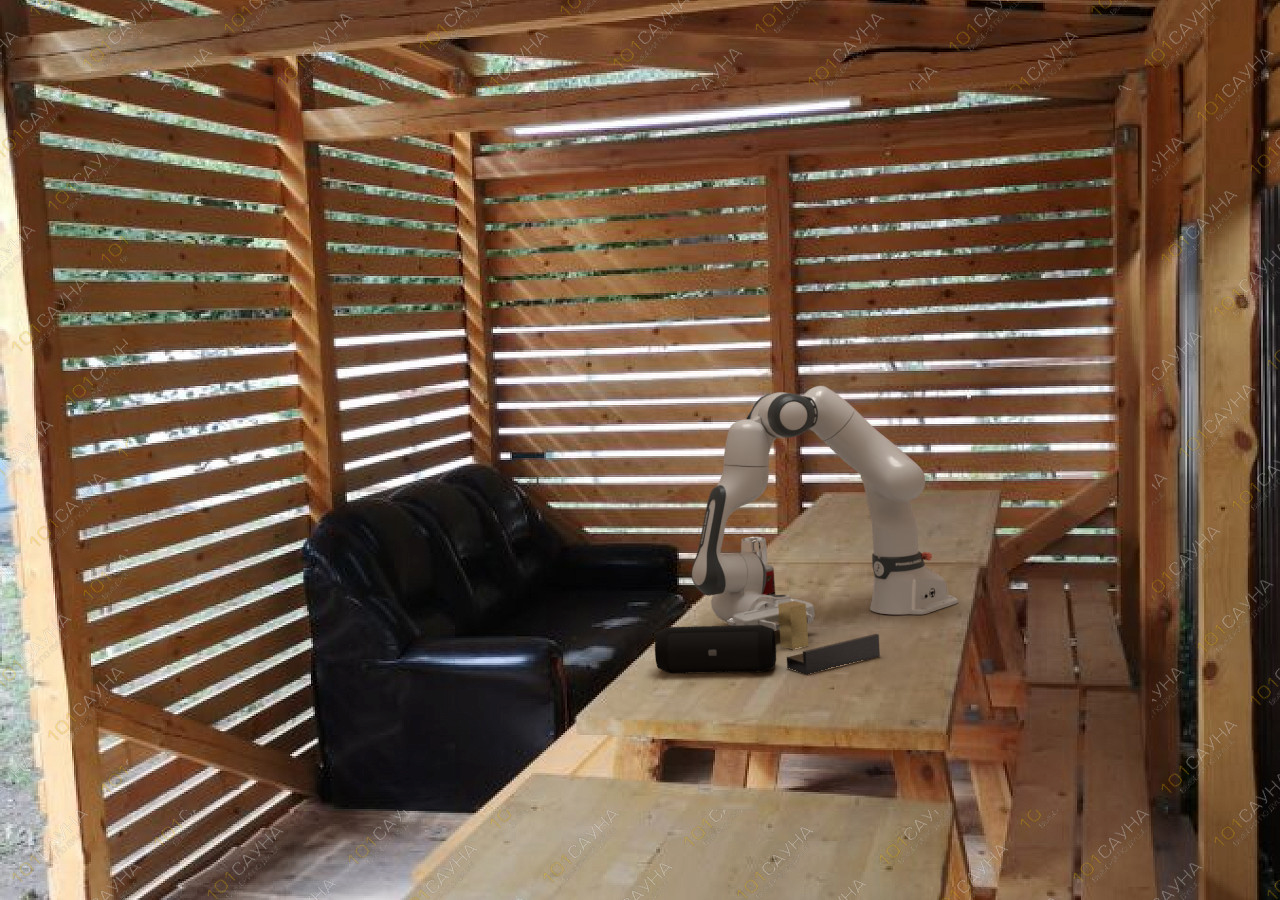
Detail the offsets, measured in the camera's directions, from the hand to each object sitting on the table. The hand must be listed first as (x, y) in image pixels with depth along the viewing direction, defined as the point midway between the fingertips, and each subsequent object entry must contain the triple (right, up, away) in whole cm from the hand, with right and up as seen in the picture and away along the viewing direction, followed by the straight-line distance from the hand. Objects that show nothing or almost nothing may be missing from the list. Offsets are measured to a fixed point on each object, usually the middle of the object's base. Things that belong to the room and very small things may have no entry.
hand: (793, 623), depth 309 cm
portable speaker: (-18, -9, -14) cm, 25 cm away
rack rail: (+7, -7, -15) cm, 18 cm away
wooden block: (0, -5, +1) cm, 6 cm away
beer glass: (-3, +1, +59) cm, 59 cm away
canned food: (-4, -2, +40) cm, 40 cm away
